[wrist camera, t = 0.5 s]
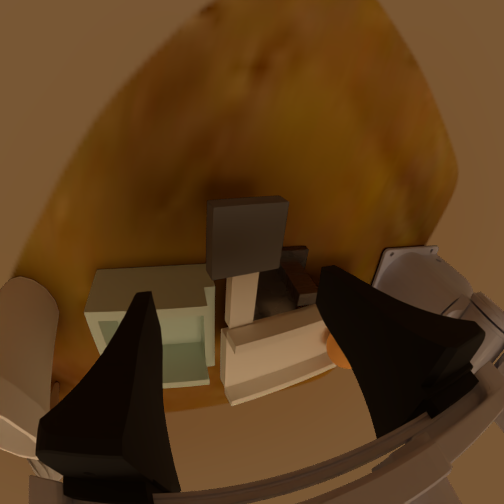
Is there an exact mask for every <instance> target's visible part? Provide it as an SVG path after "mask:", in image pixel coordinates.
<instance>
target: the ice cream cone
mask: <svg viewBox="0 0 504 504" xmlns="http://www.w3.org/2000/svg"><path fill="white" fill-rule="evenodd" d="M59 389H60V385H59V383H58V382H55V384H54V386H53V389H52V392H51V395H50V410H51V409H52V408H54V407H55V406H56V405H57V404H58V403H59ZM27 460H28V462H29V464H30V466H31V468H32V469H33V471H34V472H35V474H36V476H38V477H42V478H47V479H51V480H56V481H59V480H60V479H61V478H62V477H63V475H61V474H59V473H58V472H56V471H54V470H53V469H51V468H49V467H48V466H46V465H45V464H43V463H42V462H41V461H40V460H35V459H29V458H27Z"/></svg>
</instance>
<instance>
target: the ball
mask: <svg viewBox="0 0 504 504" xmlns="http://www.w3.org/2000/svg"><path fill="white" fill-rule="evenodd" d="M326 349H327V354H328V356H329V358H330V360H331V361H332V362H333V363H334V364H335V365H337V366H339V367H341V368H345V369H352V368H351V366H350V364H349V362H348V360H347V358H346V357H345V355H344V354H343V352H342V350H341V349H340V347H339V346H338V344H337V342H336V341H335V339H334V338H333V336H332V335H331V333H330V334H329V336H328V339H327V344H326Z"/></svg>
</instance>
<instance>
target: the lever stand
mask: <svg viewBox="0 0 504 504" xmlns="http://www.w3.org/2000/svg"><path fill="white" fill-rule="evenodd" d="M308 250H309V249H308V248H307V247H306V246H298V247H282V252H281V258H280V264H279V268H277V269H272V270H267V271H262V272H259V278H258V286H257V294H256V302H255V310H254V318H253V321H255V320H259V319H263V318H266V317H270V316H274V315H278V314H281V313H285V312H289V311H292V310H295V309H296V305H297V306H303V305H310V304H315V302H316V296H317V291H318V287H317V286H316V285H315V283H314V282H313V280H312V279H311V278H310V276H309V275H308V274H307V272H306V271H305V265H306V260H307V255H308Z"/></svg>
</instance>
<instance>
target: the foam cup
mask: <svg viewBox="0 0 504 504" xmlns="http://www.w3.org/2000/svg"><path fill="white" fill-rule="evenodd" d="M58 319H59V310H58V307H57V304H56V301H55V299H54V298H53V297H52V296H51V294H50V293H49V292H48V290H47V289H46V288H45V287H43V286H42V285H40V284H39V283H37V282H36V281H34V280H33V279H29V278H25V277H21V276H19V277H16V278H12V279H10V280H9V281H8V282H7V283H6V284H5V285H4V286H3V287H2V288H1V289H0V449H2V450H4V451H6V452H9V453H12V454H15V455H17V456H20V457H24V458H29V459H35V460H39V459H38V458H37V457H36V455H35V450H36V438H37V429H38V424H39V420H40V418H41V417H43V416H44V415H45V414H46V413H48V412H49V411H50V390H51V375H52V363H53V354H54V345H55V338H56V331H57V325H58Z"/></svg>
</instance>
